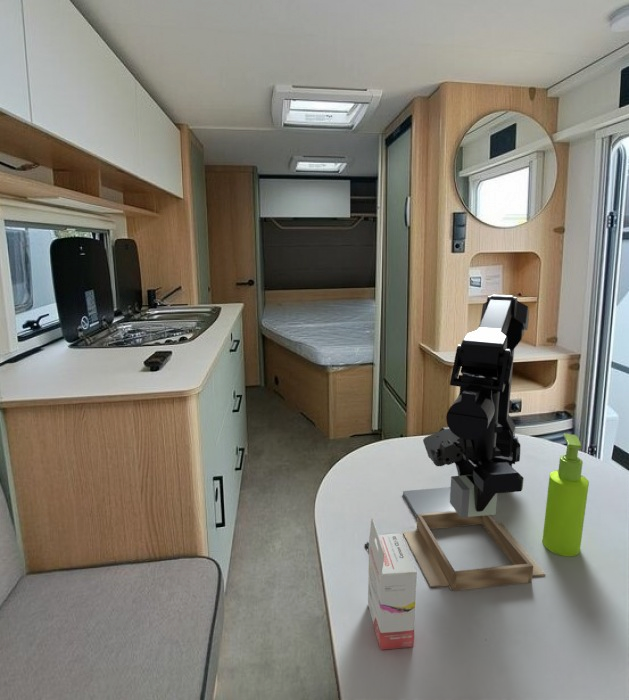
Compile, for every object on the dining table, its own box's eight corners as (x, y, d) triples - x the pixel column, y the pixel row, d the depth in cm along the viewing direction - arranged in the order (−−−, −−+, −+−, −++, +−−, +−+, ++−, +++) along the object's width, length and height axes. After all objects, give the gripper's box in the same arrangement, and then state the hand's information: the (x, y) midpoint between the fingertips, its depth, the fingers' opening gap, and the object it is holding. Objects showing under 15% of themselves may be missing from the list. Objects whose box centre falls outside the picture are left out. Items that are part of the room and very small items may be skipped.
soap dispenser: (575, 535, 85) (588, 433, 80) (582, 559, 79) (597, 450, 74) (539, 529, 87) (550, 429, 82) (544, 552, 80) (556, 445, 76)
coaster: (452, 490, 101) (452, 486, 100) (473, 516, 91) (473, 513, 91) (403, 494, 99) (403, 491, 99) (418, 521, 90) (419, 518, 90)
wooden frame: (497, 520, 90) (499, 506, 89) (549, 580, 74) (551, 563, 73) (401, 529, 87) (401, 515, 87) (433, 593, 72) (434, 576, 71)
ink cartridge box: (416, 648, 62) (419, 552, 59) (379, 651, 62) (381, 555, 58) (399, 600, 71) (401, 513, 67) (366, 602, 70) (367, 515, 67)
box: (482, 499, 81) (484, 473, 80) (495, 514, 77) (497, 487, 76) (449, 502, 80) (451, 476, 79) (460, 517, 76) (462, 490, 75)
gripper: (411, 399, 83) (408, 479, 86) (454, 444, 65) (449, 542, 68) (470, 396, 84) (465, 474, 88) (529, 438, 66) (520, 535, 70)
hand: (472, 502), depth 78 cm, fingers closed on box, 4 cm apart
